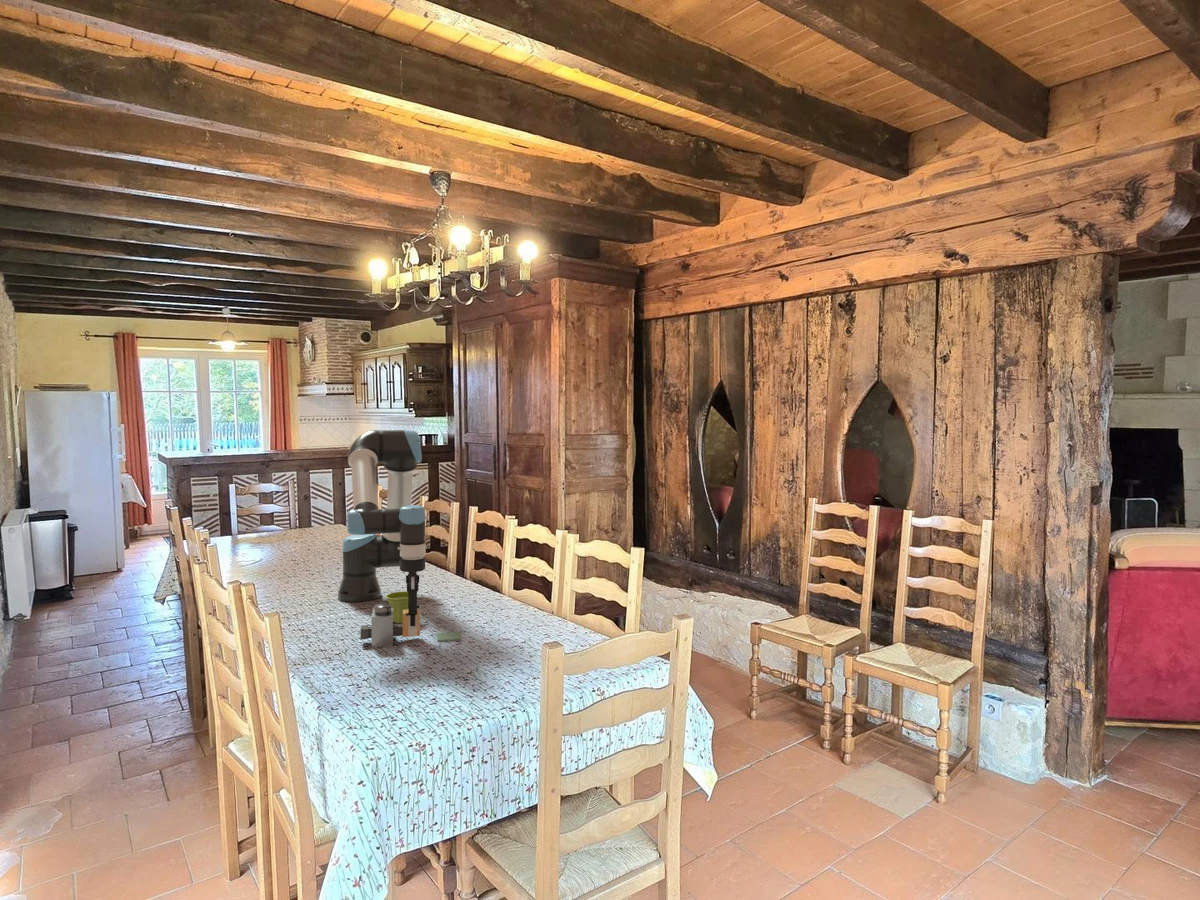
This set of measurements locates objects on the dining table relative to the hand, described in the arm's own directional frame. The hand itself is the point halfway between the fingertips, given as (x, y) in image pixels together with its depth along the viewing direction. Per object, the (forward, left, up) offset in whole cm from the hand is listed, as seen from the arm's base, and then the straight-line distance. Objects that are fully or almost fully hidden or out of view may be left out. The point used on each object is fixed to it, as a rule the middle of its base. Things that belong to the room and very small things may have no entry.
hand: (412, 632), depth 215 cm
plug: (0, -6, 0) cm, 6 cm away
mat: (0, +11, -2) cm, 11 cm away
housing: (0, -9, -2) cm, 9 cm away
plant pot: (-21, -4, -2) cm, 21 cm away
